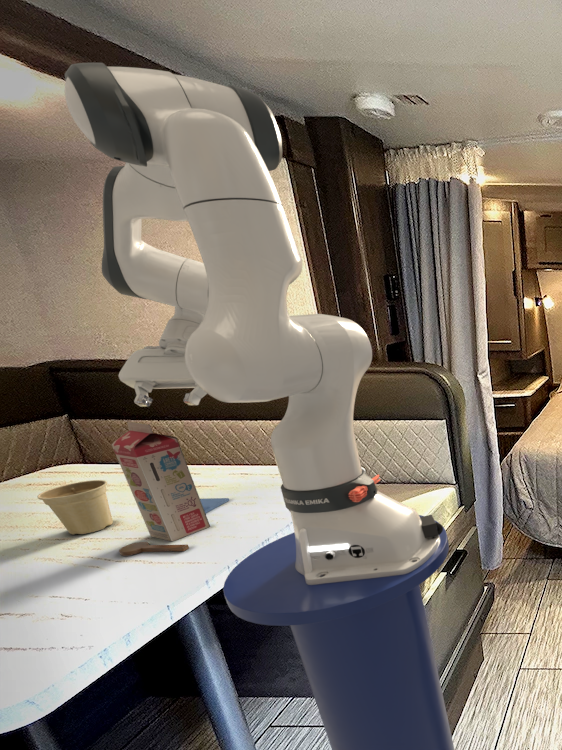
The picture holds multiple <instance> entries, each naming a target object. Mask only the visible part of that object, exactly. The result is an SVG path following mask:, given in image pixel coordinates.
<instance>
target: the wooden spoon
mask: <svg viewBox="0 0 562 750" xmlns="http://www.w3.org/2000/svg"><path fill="white" fill-rule="evenodd" d="M189 549H190V546H189V544H150V543H149V542H148V541H137V542H132V543H130V544H127V545H125V546H122V547H121V548H119V549H118V553H119V555H120V556H122V557H128V556H129V557H130V556H135V555H138V554H141V553H155V552H156V553H157V552H158V553H159V552H164V553H165V552H166V553H167V552H186V551H187V550H189Z"/></svg>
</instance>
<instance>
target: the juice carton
mask: <svg viewBox="0 0 562 750" xmlns="http://www.w3.org/2000/svg"><path fill="white" fill-rule="evenodd" d="M126 424H127V428H128V431H127V432H125V433H124V434H122V435H121V436H120V437H119V438H116V440H114V442H112V443H111V447H112V450H113V452H114V454H115V457H116V459H117V461H118V464H119V466H120V469H121V470H122V473H123V475H124V477H125V480H126V482H127V484H128V487H129V489H130V491H131V494H132V496H133V498H134V501H135V503H136V505H137V507H138V510H139V513H140V514H141V517H142V519H143V522H144V525H145V527H146V529H147V531H148V534H149V535H150V537H152V538H156V539H160V540H164V541H167V542H171V543H172V542H174V541H177V540H179V539H180V540H181V539H183V538H185V537H188V536H189V535H192V534H195V533H197V532H200V531H202V530H205V529H207V528H210V527H211V524H210V522H209V520H208V516H207V513H205V511H204V508H203V506H202V503H201V501H200V499H201V498H200V495H199V493H198V490H197V487H196V485H195V482H194V480H193V477H192V475H191V471H190V469H189V466H188V464H187V461H186V458H185V456H184V453H183V450H182V447H181V445H180V442H179V439H178V437H175V436H173V435H167V434H162V433H155V432H153V430H152V427H151V424H148V423H147V424H145V423H140V422H133V421H126Z"/></svg>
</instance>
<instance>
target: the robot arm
mask: <svg viewBox="0 0 562 750" xmlns="http://www.w3.org/2000/svg"><path fill="white" fill-rule="evenodd" d="M64 80H65V83H64V96H65V102H66V103H65V104H66V106H67V109H68V112H69V114H70V116H71V118H72V119H73V122H74V123H75V124H76V126H77V127H78V129H79V130H80V131H81V132H82V134H83V135H84V136H85V137H86V139H88V140H89V142H90V143H91V145H92V147H93V148H95V149H96V150H97V151H99V152H100V153H102V154H104V155H105V156H107V157H109V158H110V159H113V160H116V161H120V162H124V163H125V164H124V165H118V166H113V167H112V168H111V169H110V171H109V172H108V173H107V176H106V177H105V180H104V183H103V189H102V226H103V227H102V229H103V231H102V232H103V250H102V258H101V274H102V276H103V278H104V279H105V280H106V282H107V283H108V284H109V285H110V286H111V287H112V288H113V289H114V290H115V291H116V292H117V293H119V294H121V295H123V296H129V297H132V298H137V299H141V300H149V301H153V302H155V303H160V304H164V305H167V306H171V307H174V313H173V316H172V317H171V318H170V319H168V320H167V322H166V325H165V327H164V329H163V331H162V334H161V336H160V337H159V338H160V339H159V340H158V345H156V346H155V345H154V346H153V345H147V346H144V347H143V348H141V349H137V350H135V351H134V352H133V353H131V354H130V356H129V357H128V358H127V360H126V361H125V363H124V365H122V367H121V369H120V371H119V373H118V375H117V376H118V379H119V381H120V382H121V383H123V384H125V385H126V386H128V387H130V388H132V389H134V391H135V398H134V400H133V402H134V404H136V406H139V407H150V406H151V404H152V403H153V401H154V399H153V398H152V397H149V393H152V391H153V390H160V389H161V390H164V389H166V390H167V389H192V390H191V391H190V392H188V393H185V395H184V398H183V402H184V403H185V404H187V406H199V405H200V402H201V399H203V398H204V397H205V396H206V395H208V396H210V397H212V398H213V399H215V400H217V401H219V402H222V403H230V404H231V403H232V404H233V403H240V404H241V403H243V404H244V403H265V402H266V403H267V402H270V401H274V400H279V399H282V398H287V397H288V403H287V408H286V411H285V414H284V416H283V417H282V418H281V420H280V421H279V422H278V424H277V425H276V426H275V428H273V430H272V433H271V436H270V447H271V450H272V453H273V456H274V460H275V463H276V467H277V469H278V473H279V477H280V479H281V485H280V491H281V494H282V499H283V502H284V505H285V508H286V509H287V510H288V511H289V513H290V517H291V521H292V526H293V531H294V532H293V533H295V541H296V563H295V568H296V570H297V571H298V572H299V573H301V574H302V575H304V576H305V582H306V584H308V585H317V584H325V583H334V582H343V581H352V580H361V579H370V578H378V577H387V576H396V575H403V574H407V573H409V572H411V571H413V570H415V569H417V568H418V567H420V566H421V565H422V564H424V563H425V562H426V561H427V560H428V559H429V558H430V557H431V556H432V555H433V553H434V552H435V551H436V549H437V548H438V546H439V543H440V536H439V535H440V534H441V533H442V531H443V527H444V526H443V524H441V523H440V522H439V523H437V522H438V521H437V522H435V521H436V520H435V519H434V516H433V515H432V514H428V515H422V516H423V517H419V515H420V514H419V513H418V512H417V511H416V509H414V508H413V507H410V506H408V505H406V504H403V503H402V502H400V501H399V500H396V499H395V498H392V497H390V496H388V495H386V494H384V493H383V492H381V491H380V490H378V487H377V486H376V485H377V484H378V483H379V482H380V481H381V480H382V479H381V478H380V474H376V475H375V476H374V477H370V476H369V474H368V473H367V472H366V471H365V469H363V467H362V464H361V460H360V454H359V450H358V445H357V441H356V435H355V428H354V411H355V404H356V398H357V393H358V389H359V386H360V383H361V381H362V379H363V377H364V375H365V373H366V372H367V371H368V370H369V368H370V366H371V363H372V361H373V349H372V344H371V341H370V338H369V337H368V335H367V333H366V332H365V330H364V329H363V328H362V327H361V325H360V324H359V323H357V322H355V321H353V320H352V319H349V318H347V317H343V316H342V317H341V316H336V315H331V314H326V313H325V314H324V313H308V314H298V315H289V311H288V310H289V309H288V302H287V294H288V289H289V287H290V285H291V284H293V282H294V283H295V281H296V280H297V279H298V278H299V277H300V275H301V273H302V270H303V259H302V256H301V253H300V250H299V247H298V245H297V242H296V239H295V236H294V233H293V231H292V227H291V224H290V222H289V219H288V216H287V213H286V210H285V207H284V204H283V202H282V200H281V197H280V193H279V191H278V189H277V187H276V184H275V182H274V179H273V176H272V175H271V173H270V172H272V171H275V170H276V169H278V167H279V165H280V163H281V162H282V159H283V139H282V135H281V131H280V128H279V125H278V124H277V121H276V118H275V115H274V113H273V111H272V110H271V108H270V107H269V106H268V105H267V103H266V102H265V101H264V100H263V99H262V98H261V97H260V96H259V95H258V94H257V93H254V92H252V91H250V90H247V89H245V88H242V87H239V86H236V85H232V84H228V85H223V84H219V83H216V82H211V81H207V80H205V79H200V78H197V77H196V78H195V77H191V76H187V75H181V74H176V73H172V72H171V71H168V70H167V71H166V70H161V69H154V68H153V69H152V68H144V67H134V66H133V67H131V66H107V65H106V64H105V63H104V62H78V63H72V64H70V65H69V67H68V68H67V70H66V71H65V72H64ZM144 219H150V220H151V219H152V220H162V221H169V222H170V221H171V222H183V223H184V222H188V225H189V227H190V230H191V232H192V235H193V238H194V240H195V243H196V246H197V249H198V251H199V254H200V257H201V260H202V262H201V261H198V260H195V259H192V258H188V257H184V256H181V255H179V254H175V253H173V252H169V251H166V250H163V249H159V248H157V247H154V246H153V245H150V244H148V243H147V242H146V241H144V240H143V239H142V226H143V225H142V222H143V221H142V220H144Z"/></svg>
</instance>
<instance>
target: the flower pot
mask: <svg viewBox="0 0 562 750" xmlns="http://www.w3.org/2000/svg"><path fill="white" fill-rule="evenodd" d="M107 485H108V481H106V480H104V479H93V480H84V481H77V482H71V483H68V484H64V485H60V486H56V487H53V488H50V489H47V490H44V491H43V492H40V493H38V495H37V499H38V500H41V501H43V503H44V504H45V505H47V506H48V507H49V508H50V510H51V511H52V512H53V513H54V515H55V516H56V517H57V518H58V520H59V521H60V522H61V523H62V525H63V527H64V528H65V529H66V530H67V532H68V533H69V534H70V535H77V534H78V535H85V534H91V533H95V532H98V531H101V530H103V529H105V528H107V526H108V527H109V526H112V525H113V523H114V520H113V516H112V513H111V509H110V504H109V500H108V496H107Z"/></svg>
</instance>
